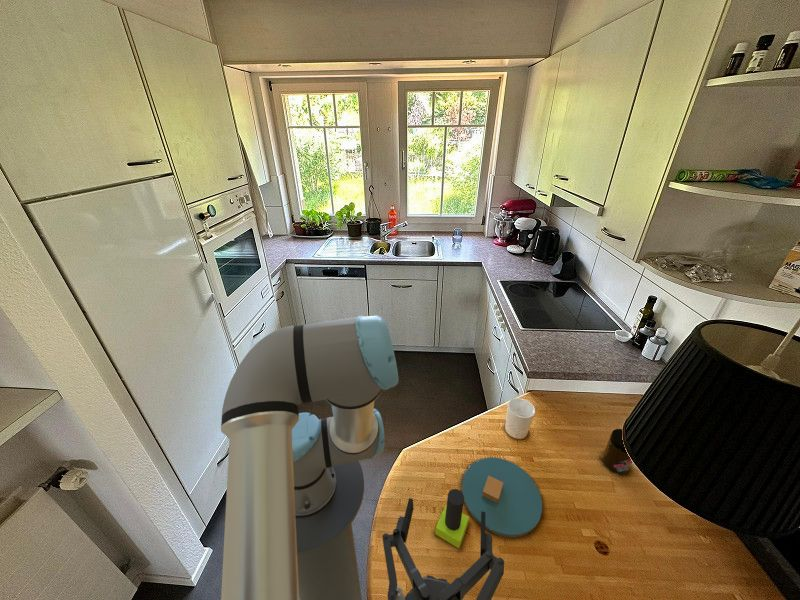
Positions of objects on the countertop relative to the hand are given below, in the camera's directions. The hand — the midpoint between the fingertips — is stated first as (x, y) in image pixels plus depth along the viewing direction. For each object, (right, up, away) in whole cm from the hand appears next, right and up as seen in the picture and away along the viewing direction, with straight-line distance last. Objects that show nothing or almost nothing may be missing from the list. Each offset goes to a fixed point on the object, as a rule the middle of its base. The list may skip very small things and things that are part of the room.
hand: (446, 509), depth 61 cm
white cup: (+28, -2, +41) cm, 50 cm away
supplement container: (+53, -7, +31) cm, 61 cm away
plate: (+18, -11, +23) cm, 31 cm away
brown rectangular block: (+15, -10, +23) cm, 29 cm away
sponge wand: (+4, -15, +16) cm, 22 cm away
